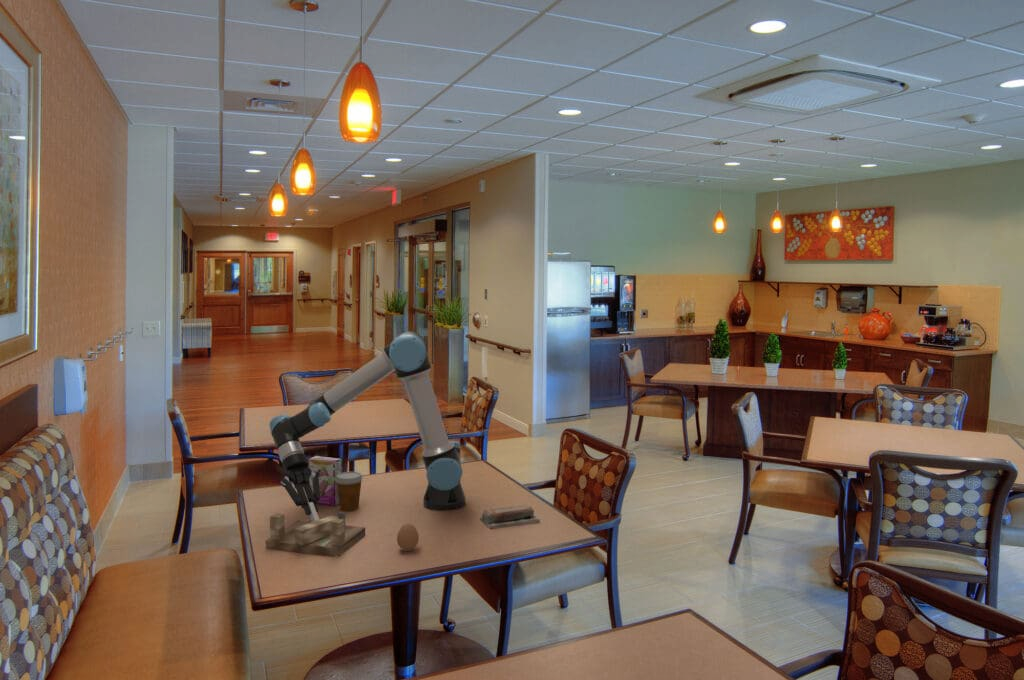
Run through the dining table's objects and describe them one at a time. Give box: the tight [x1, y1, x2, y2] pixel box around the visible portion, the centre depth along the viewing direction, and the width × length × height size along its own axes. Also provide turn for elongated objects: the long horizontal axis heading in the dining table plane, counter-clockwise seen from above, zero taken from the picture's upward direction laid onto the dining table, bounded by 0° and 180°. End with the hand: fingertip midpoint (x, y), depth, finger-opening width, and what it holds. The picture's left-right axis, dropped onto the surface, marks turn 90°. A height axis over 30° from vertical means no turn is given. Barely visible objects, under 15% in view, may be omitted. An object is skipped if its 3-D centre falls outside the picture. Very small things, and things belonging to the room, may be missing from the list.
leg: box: [295, 514, 339, 546], centre depth 216 cm, size 14×4×4 cm, turn 144°
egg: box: [396, 523, 420, 552], centre depth 213 cm, size 6×6×8 cm
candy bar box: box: [307, 455, 343, 507], centre depth 256 cm, size 11×5×16 cm, turn 71°
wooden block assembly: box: [265, 511, 366, 557], centre depth 220 cm, size 24×18×10 cm
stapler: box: [479, 504, 540, 530], centre depth 239 cm, size 18×5×10 cm
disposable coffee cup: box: [335, 471, 364, 512], centre depth 251 cm, size 10×10×12 cm
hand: (315, 522), depth 220 cm, fingers closed
